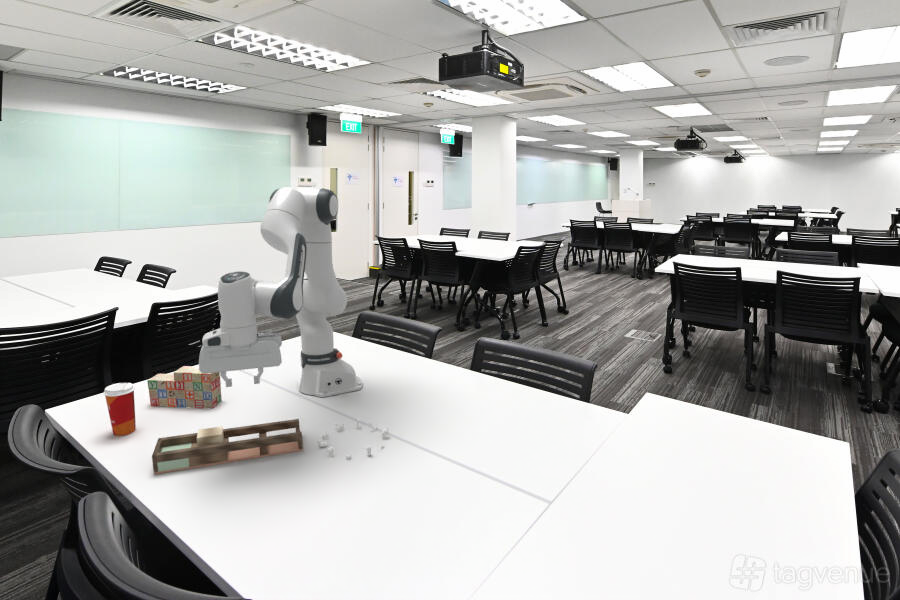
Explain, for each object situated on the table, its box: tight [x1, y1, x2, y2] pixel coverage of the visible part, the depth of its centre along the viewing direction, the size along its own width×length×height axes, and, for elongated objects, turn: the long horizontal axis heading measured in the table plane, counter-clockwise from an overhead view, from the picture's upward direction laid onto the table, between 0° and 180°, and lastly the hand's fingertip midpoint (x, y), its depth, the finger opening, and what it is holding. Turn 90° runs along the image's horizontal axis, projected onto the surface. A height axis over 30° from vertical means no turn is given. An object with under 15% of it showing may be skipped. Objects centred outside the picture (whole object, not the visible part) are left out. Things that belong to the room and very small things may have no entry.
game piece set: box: [316, 418, 389, 460], centre depth 145 cm, size 19×20×4 cm
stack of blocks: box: [147, 365, 223, 410], centre depth 169 cm, size 21×6×12 cm, turn 87°
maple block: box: [197, 425, 224, 447], centre depth 136 cm, size 6×5×4 cm
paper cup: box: [103, 382, 137, 437], centre depth 149 cm, size 8×8×14 cm
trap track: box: [151, 418, 304, 475], centre depth 138 cm, size 36×10×5 cm, turn 111°
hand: (243, 384), depth 136 cm, fingers open, 5 cm apart
